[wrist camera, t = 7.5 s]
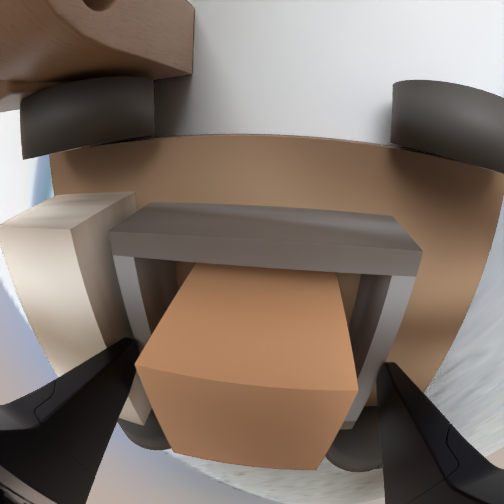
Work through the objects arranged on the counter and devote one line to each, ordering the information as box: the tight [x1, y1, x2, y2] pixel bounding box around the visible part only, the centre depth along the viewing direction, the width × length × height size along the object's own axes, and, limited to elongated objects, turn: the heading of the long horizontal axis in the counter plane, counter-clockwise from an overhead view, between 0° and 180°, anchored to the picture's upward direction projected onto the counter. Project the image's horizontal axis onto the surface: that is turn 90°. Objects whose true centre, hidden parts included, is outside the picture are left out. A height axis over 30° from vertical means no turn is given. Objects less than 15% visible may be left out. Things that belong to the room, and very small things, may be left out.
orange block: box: [135, 262, 358, 470], centre depth 9 cm, size 5×5×6 cm
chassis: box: [0, 76, 504, 472], centre depth 11 cm, size 18×20×6 cm
